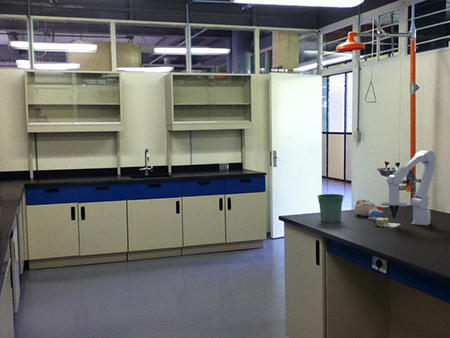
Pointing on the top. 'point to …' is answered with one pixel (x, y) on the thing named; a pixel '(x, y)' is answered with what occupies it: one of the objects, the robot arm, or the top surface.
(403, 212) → the top surface
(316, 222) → the top surface
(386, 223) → the teal block wooden top
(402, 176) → the robot arm
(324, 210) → the flower pot
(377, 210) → the toy
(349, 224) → the top surface
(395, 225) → the mat
